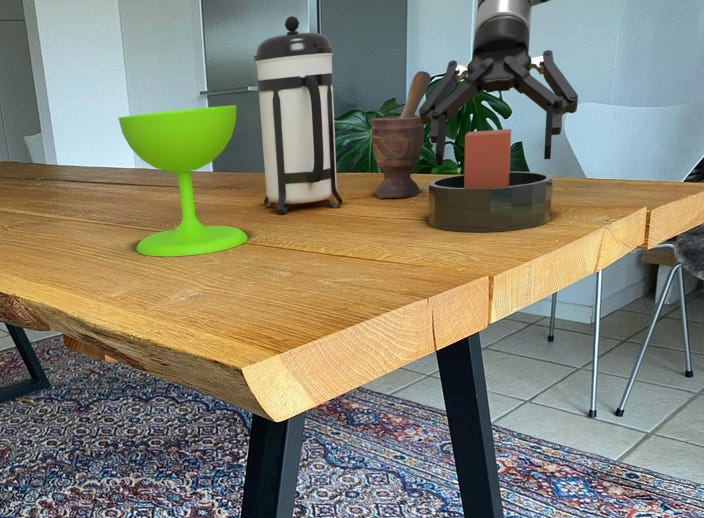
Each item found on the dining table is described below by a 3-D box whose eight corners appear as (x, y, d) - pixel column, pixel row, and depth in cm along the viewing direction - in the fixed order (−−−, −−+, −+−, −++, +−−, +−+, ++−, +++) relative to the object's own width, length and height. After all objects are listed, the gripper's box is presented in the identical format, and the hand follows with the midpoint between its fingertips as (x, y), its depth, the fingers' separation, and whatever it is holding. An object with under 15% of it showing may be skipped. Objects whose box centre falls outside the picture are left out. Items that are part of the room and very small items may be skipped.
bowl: (544, 208, 105) (546, 168, 103) (554, 230, 91) (557, 185, 89) (432, 213, 110) (432, 175, 108) (426, 234, 96) (425, 191, 94)
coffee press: (237, 214, 125) (221, 22, 115) (291, 198, 137) (281, 22, 126) (323, 218, 115) (313, 6, 104) (374, 200, 126) (370, 7, 115)
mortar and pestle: (390, 189, 136) (389, 74, 130) (436, 188, 132) (437, 69, 125) (365, 199, 128) (362, 76, 121) (413, 199, 123) (413, 71, 116)
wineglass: (242, 228, 113) (231, 104, 107) (253, 248, 98) (241, 106, 92) (138, 239, 112) (121, 115, 106) (133, 261, 97) (114, 119, 91)
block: (508, 211, 102) (511, 128, 98) (506, 218, 97) (510, 132, 94) (466, 212, 104) (468, 131, 101) (463, 219, 100) (464, 135, 96)
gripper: (596, 45, 104) (594, 168, 96) (416, 65, 114) (400, 178, 106) (601, 2, 97) (599, 129, 90) (409, 27, 107) (393, 143, 99)
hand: (491, 156), depth 98 cm, fingers open, 13 cm apart
